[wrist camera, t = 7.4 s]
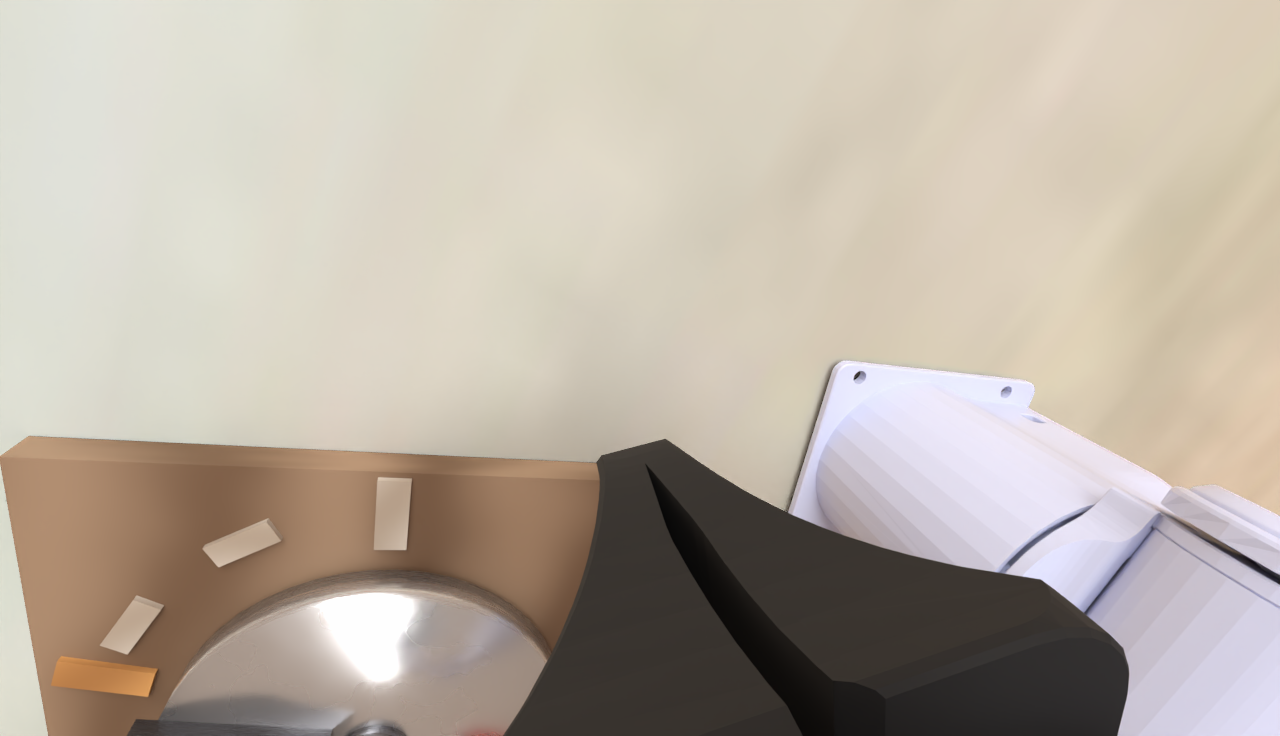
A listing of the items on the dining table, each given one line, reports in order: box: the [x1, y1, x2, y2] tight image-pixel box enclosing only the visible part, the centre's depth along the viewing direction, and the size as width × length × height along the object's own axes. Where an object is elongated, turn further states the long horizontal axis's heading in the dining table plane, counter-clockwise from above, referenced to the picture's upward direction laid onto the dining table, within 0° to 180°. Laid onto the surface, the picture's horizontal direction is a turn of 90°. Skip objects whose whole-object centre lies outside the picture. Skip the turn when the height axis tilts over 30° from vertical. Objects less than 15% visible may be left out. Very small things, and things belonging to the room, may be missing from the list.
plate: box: [0, 436, 600, 736], centre depth 23 cm, size 20×20×1 cm
